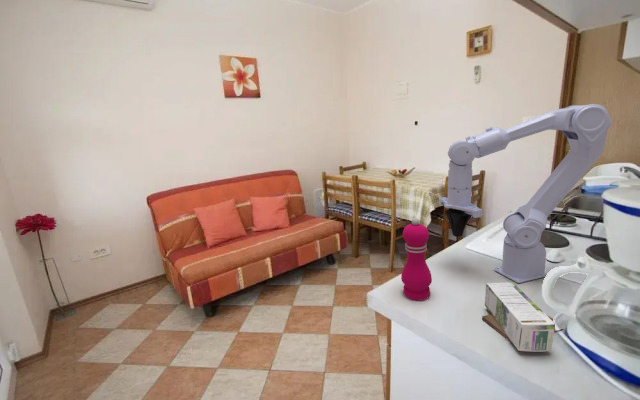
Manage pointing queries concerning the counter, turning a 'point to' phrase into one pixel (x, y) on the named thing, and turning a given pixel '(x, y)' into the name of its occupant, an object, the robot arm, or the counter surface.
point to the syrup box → (519, 317)
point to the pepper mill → (416, 262)
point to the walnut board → (497, 325)
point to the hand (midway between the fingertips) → (457, 235)
